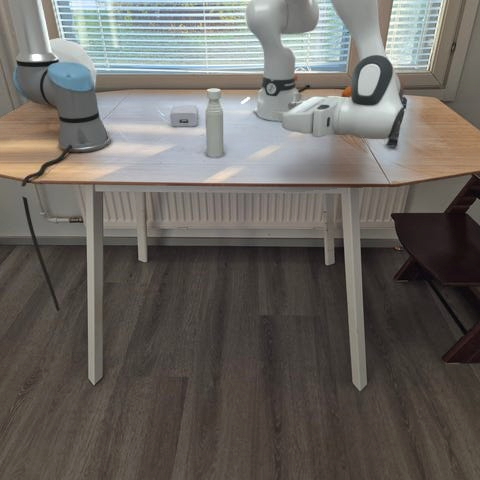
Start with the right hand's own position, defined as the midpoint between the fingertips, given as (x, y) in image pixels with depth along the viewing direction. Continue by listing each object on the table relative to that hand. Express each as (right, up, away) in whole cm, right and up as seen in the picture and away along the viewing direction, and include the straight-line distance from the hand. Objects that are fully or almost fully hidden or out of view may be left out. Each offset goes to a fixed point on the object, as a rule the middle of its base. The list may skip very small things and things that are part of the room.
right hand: (281, 109), depth 106 cm
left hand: (-46, +57, +41) cm, 84 cm away
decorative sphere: (-79, +21, +58) cm, 101 cm away
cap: (-18, +8, +7) cm, 21 cm away
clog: (+43, +21, +61) cm, 78 cm away
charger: (-31, +10, +44) cm, 55 cm away
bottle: (-18, -8, +18) cm, 27 cm away
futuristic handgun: (+41, +3, +34) cm, 53 cm away
